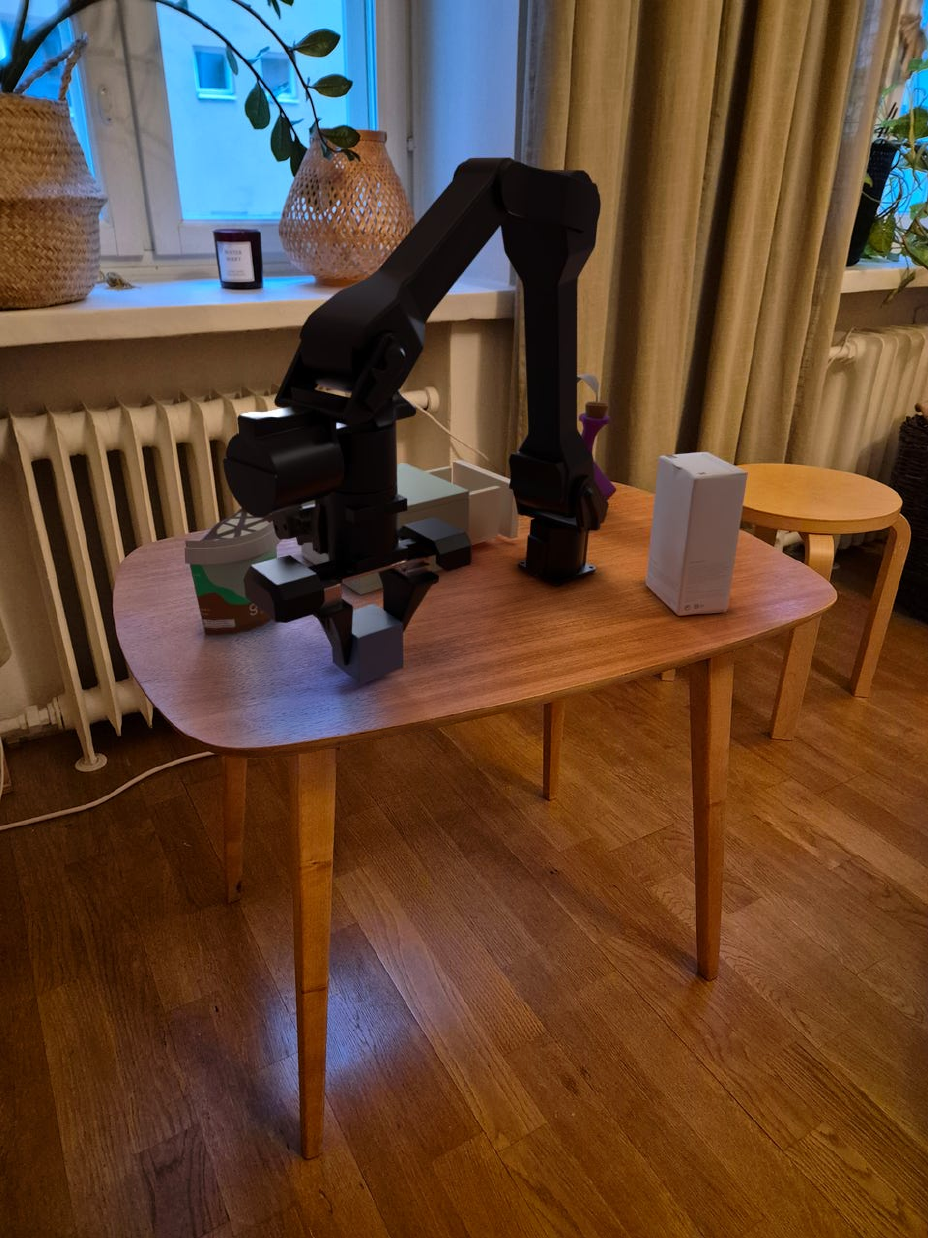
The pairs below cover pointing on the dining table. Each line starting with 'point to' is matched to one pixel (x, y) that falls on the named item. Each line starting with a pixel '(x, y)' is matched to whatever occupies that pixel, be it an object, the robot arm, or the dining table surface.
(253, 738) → the dining table surface
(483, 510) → the tray
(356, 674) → the block
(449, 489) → the grey storage box
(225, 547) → the food container
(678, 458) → the cosmetic box
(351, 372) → the robot arm
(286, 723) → the dining table surface
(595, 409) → the perfume bottle
